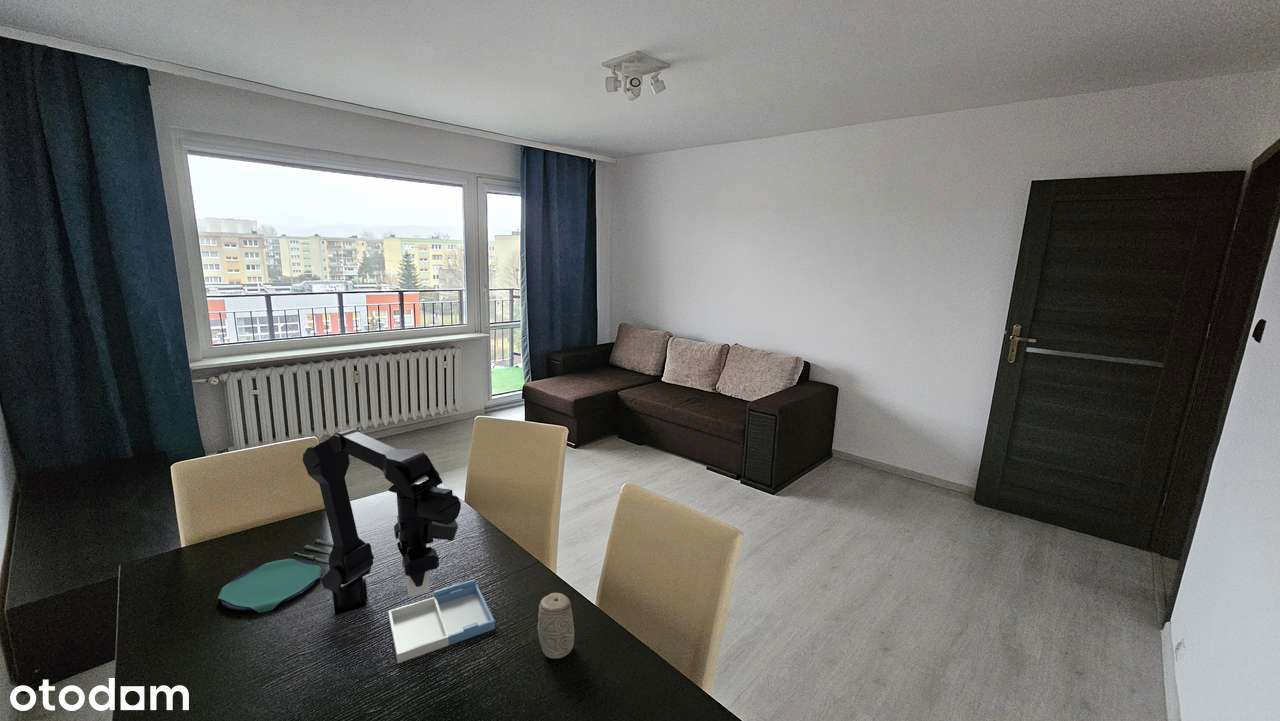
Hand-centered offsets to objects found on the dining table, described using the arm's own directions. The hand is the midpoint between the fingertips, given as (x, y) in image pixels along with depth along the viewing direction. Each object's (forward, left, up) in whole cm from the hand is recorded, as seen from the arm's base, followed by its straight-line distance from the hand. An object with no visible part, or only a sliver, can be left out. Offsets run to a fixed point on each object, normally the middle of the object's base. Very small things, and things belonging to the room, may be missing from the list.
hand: (417, 580), depth 109 cm
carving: (+23, -20, -13) cm, 33 cm away
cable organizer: (+4, 0, -12) cm, 13 cm away
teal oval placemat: (-25, +38, -13) cm, 47 cm away
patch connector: (0, 0, -2) cm, 2 cm away
